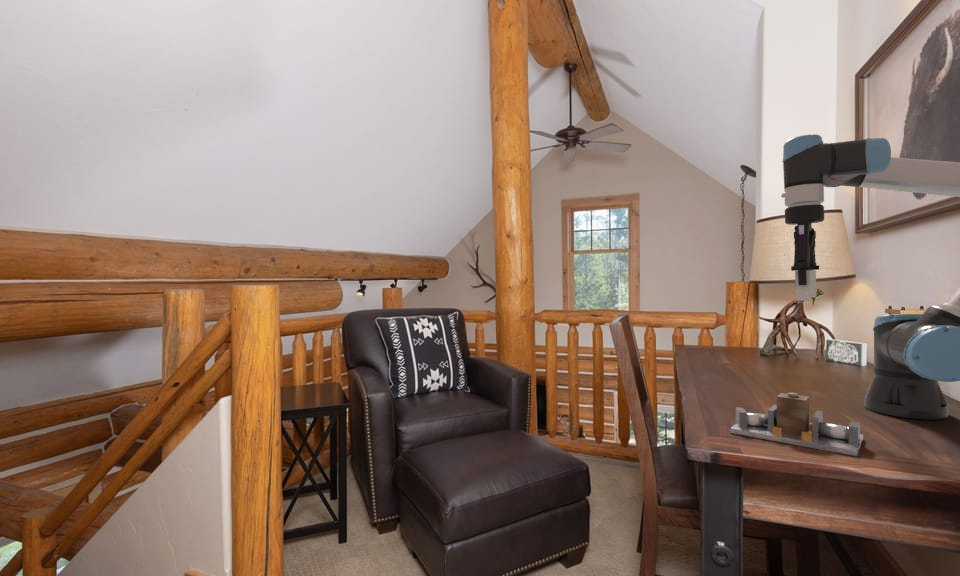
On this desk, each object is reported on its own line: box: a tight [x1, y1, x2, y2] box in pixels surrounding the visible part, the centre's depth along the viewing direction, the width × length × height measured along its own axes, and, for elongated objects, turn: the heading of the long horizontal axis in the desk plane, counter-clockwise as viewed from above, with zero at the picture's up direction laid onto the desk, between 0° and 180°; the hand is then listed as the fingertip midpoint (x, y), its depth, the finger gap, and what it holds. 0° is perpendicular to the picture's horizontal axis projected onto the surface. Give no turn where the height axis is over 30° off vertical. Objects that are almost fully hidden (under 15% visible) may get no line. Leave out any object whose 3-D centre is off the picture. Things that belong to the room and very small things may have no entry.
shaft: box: [735, 406, 768, 428], centre depth 105 cm, size 6×4×3 cm
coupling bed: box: [730, 403, 864, 457], centre depth 101 cm, size 21×12×5 cm, turn 48°
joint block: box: [776, 392, 810, 435], centre depth 101 cm, size 5×4×8 cm
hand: (806, 299), depth 114 cm, fingers open, 13 cm apart
